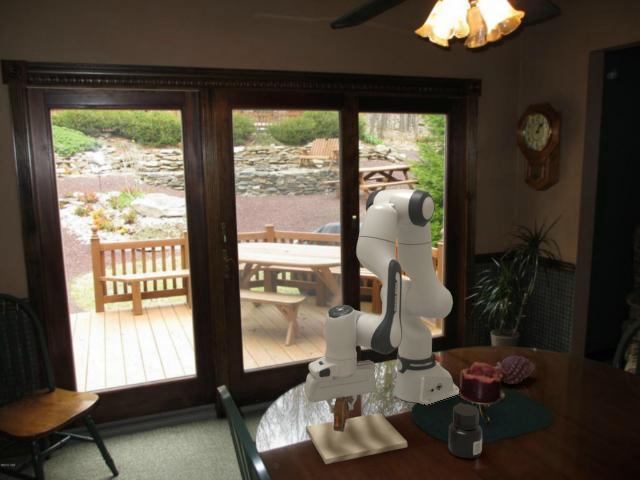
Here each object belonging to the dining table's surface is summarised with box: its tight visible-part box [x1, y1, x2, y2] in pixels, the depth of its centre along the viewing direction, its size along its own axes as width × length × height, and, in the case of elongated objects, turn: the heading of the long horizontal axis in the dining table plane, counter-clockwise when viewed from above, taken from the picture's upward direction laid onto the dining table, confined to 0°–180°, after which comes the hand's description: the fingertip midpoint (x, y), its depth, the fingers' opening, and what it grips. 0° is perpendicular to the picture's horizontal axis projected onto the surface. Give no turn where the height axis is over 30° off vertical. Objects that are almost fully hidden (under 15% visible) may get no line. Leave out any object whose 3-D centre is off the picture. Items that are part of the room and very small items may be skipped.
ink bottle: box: [447, 403, 483, 459], centre depth 143 cm, size 10×9×12 cm
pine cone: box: [491, 355, 536, 385], centre depth 185 cm, size 18×10×10 cm, turn 109°
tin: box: [333, 397, 349, 432], centre depth 148 cm, size 15×3×8 cm, turn 171°
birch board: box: [305, 412, 408, 465], centre depth 151 cm, size 24×18×2 cm
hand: (341, 410), depth 148 cm, fingers closed on tin, 4 cm apart
